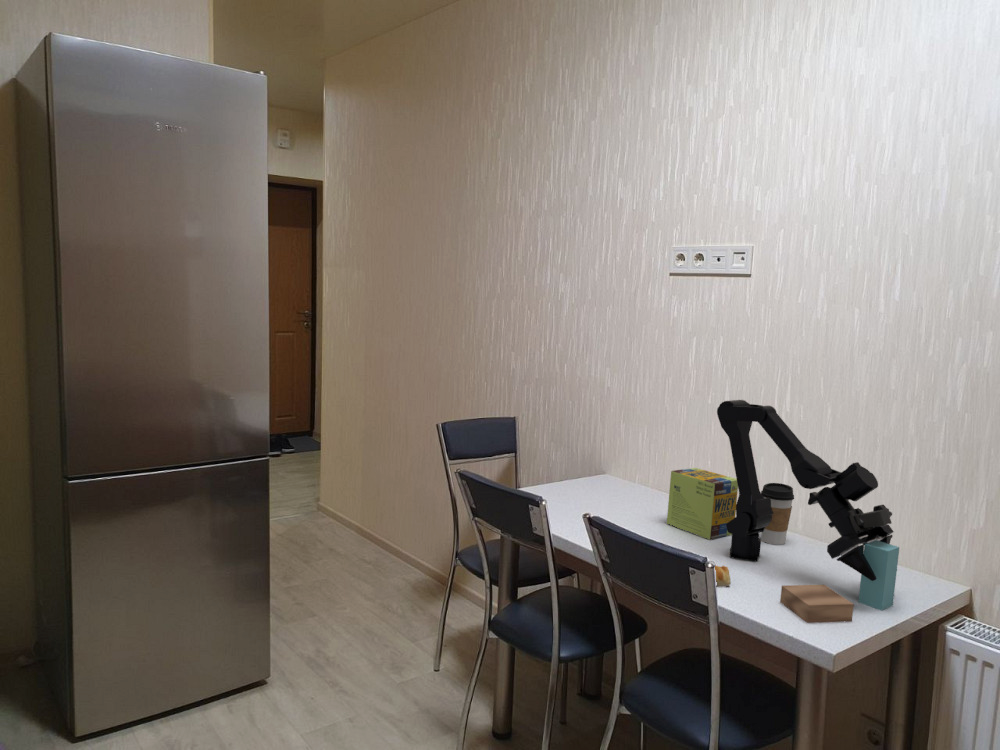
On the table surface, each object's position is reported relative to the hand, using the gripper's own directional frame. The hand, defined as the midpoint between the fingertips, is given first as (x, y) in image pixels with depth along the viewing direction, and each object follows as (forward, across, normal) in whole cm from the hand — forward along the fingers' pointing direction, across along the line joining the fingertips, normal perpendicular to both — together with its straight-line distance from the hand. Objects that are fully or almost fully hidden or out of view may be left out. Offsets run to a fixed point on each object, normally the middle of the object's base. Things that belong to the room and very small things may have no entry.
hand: (885, 575), depth 161 cm
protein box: (-33, +8, +43) cm, 55 cm away
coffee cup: (-22, +18, +31) cm, 42 cm away
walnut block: (0, -16, +10) cm, 18 cm away
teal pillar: (+4, 0, +6) cm, 7 cm away
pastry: (-15, -21, +25) cm, 36 cm away
